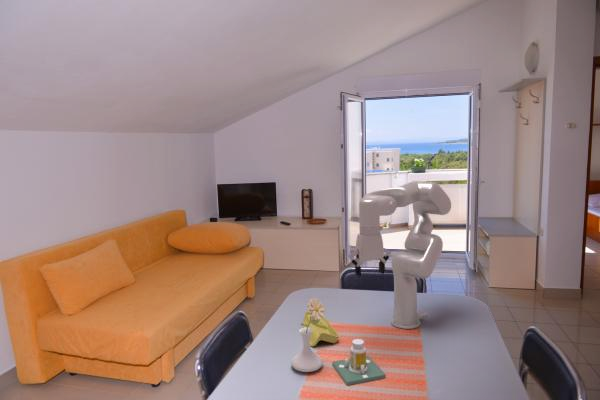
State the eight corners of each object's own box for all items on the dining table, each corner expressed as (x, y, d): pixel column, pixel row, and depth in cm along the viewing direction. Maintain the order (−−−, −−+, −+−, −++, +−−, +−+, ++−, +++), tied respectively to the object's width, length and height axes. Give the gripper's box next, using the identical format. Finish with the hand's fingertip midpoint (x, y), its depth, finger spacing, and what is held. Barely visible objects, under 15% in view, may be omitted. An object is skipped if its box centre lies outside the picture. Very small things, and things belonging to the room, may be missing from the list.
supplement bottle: (347, 368, 152) (347, 342, 151) (355, 362, 156) (355, 336, 155) (361, 373, 149) (360, 346, 147) (369, 366, 153) (368, 340, 151)
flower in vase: (300, 378, 149) (297, 308, 145) (286, 364, 159) (283, 298, 155) (333, 368, 155) (331, 300, 151) (317, 354, 165) (315, 291, 161)
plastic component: (340, 338, 173) (319, 331, 169) (333, 354, 173) (311, 348, 170) (323, 315, 191) (304, 309, 188) (317, 330, 192) (297, 324, 188)
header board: (367, 358, 161) (367, 347, 160) (385, 377, 148) (385, 366, 147) (332, 364, 157) (331, 353, 157) (347, 385, 144) (346, 373, 143)
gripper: (385, 226, 171) (386, 269, 174) (344, 230, 167) (345, 274, 169) (394, 230, 164) (395, 274, 167) (352, 235, 160) (353, 280, 162)
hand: (370, 274), depth 168 cm, fingers open, 9 cm apart
